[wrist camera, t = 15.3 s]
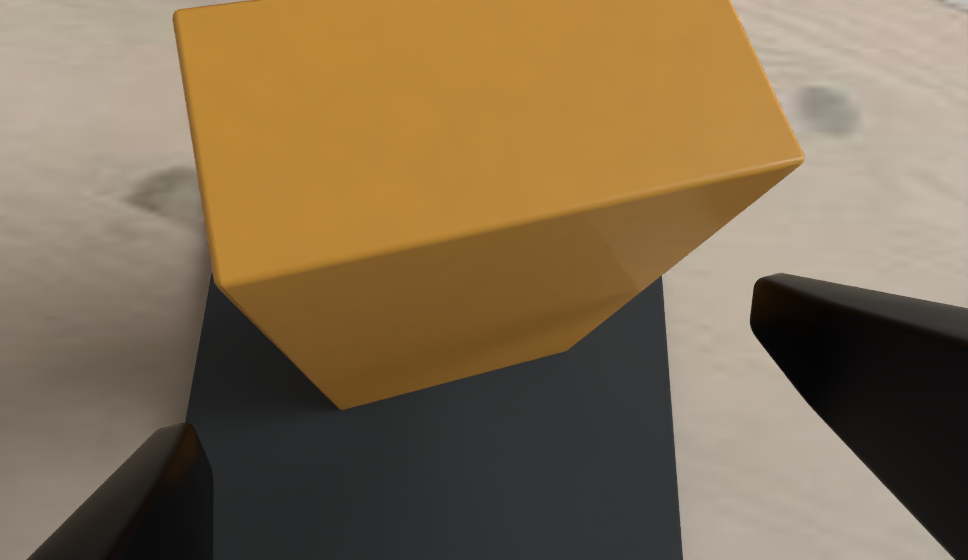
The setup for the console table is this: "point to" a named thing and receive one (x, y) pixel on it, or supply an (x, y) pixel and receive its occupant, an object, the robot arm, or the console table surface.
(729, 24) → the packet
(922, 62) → the console table surface
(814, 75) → the console table surface
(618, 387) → the mat
